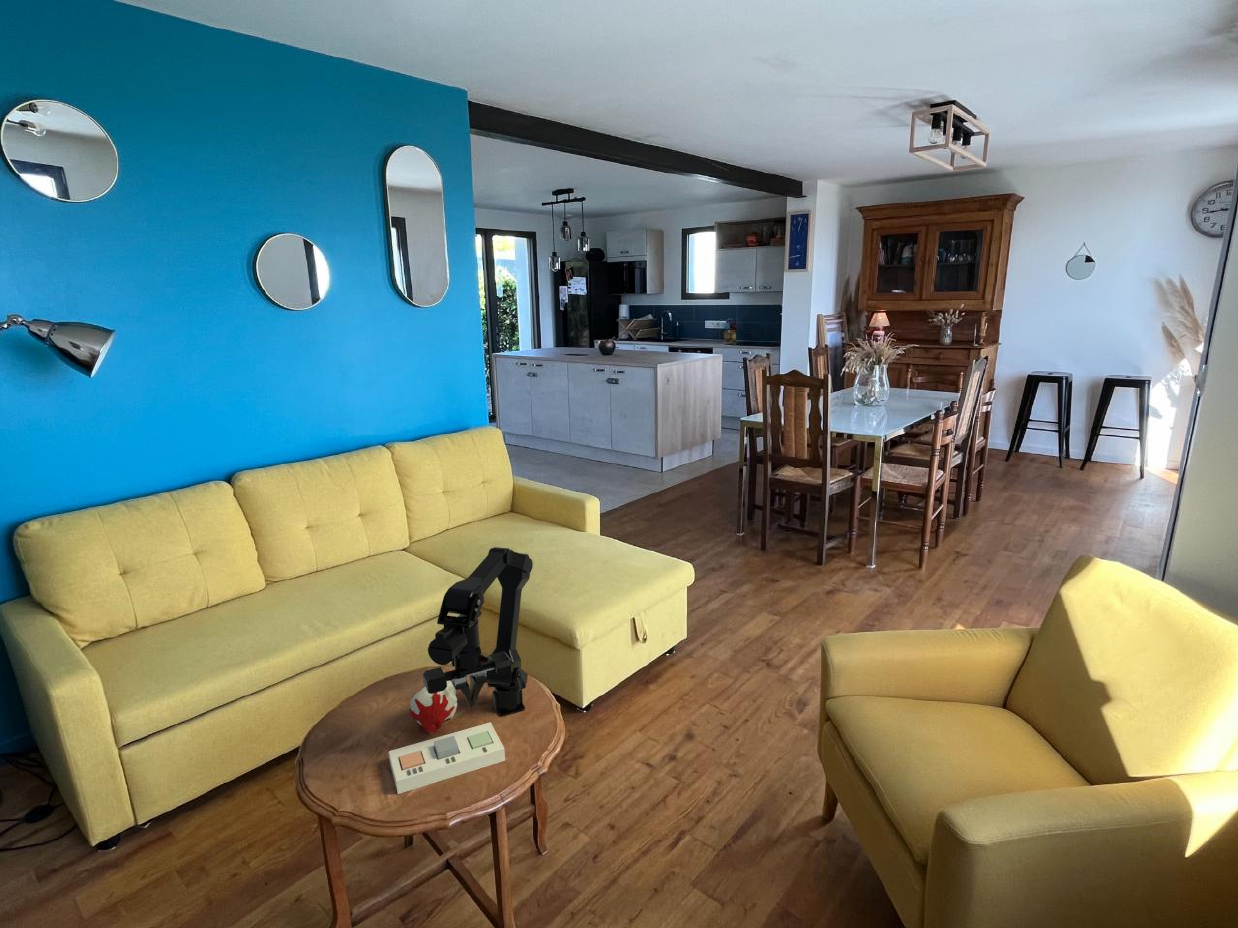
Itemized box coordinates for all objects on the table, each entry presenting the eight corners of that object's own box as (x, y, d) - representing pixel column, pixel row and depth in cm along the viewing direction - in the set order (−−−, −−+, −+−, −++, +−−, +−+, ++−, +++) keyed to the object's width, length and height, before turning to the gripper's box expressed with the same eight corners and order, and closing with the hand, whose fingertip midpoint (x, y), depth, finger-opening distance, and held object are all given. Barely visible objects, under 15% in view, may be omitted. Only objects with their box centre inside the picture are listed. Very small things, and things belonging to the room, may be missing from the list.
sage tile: (487, 739, 158) (486, 730, 157) (492, 750, 154) (492, 741, 153) (468, 744, 156) (467, 736, 155) (473, 756, 152) (472, 747, 151)
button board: (491, 733, 161) (490, 721, 161) (505, 760, 152) (504, 747, 151) (389, 763, 152) (388, 750, 151) (397, 793, 142) (396, 780, 141)
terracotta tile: (420, 758, 151) (420, 750, 151) (424, 770, 147) (423, 761, 147) (400, 765, 149) (399, 756, 149) (403, 777, 145) (402, 768, 145)
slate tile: (454, 744, 154) (453, 735, 154) (459, 755, 150) (458, 746, 150) (434, 749, 152) (433, 741, 152) (438, 761, 148) (438, 752, 148)
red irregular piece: (456, 699, 175) (461, 740, 161) (410, 706, 172) (411, 749, 158) (454, 669, 172) (458, 709, 158) (407, 676, 169) (407, 717, 155)
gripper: (496, 618, 160) (500, 678, 164) (415, 636, 152) (421, 699, 156) (511, 637, 151) (515, 701, 154) (425, 658, 142) (431, 725, 146)
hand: (471, 706), depth 153 cm, fingers closed
